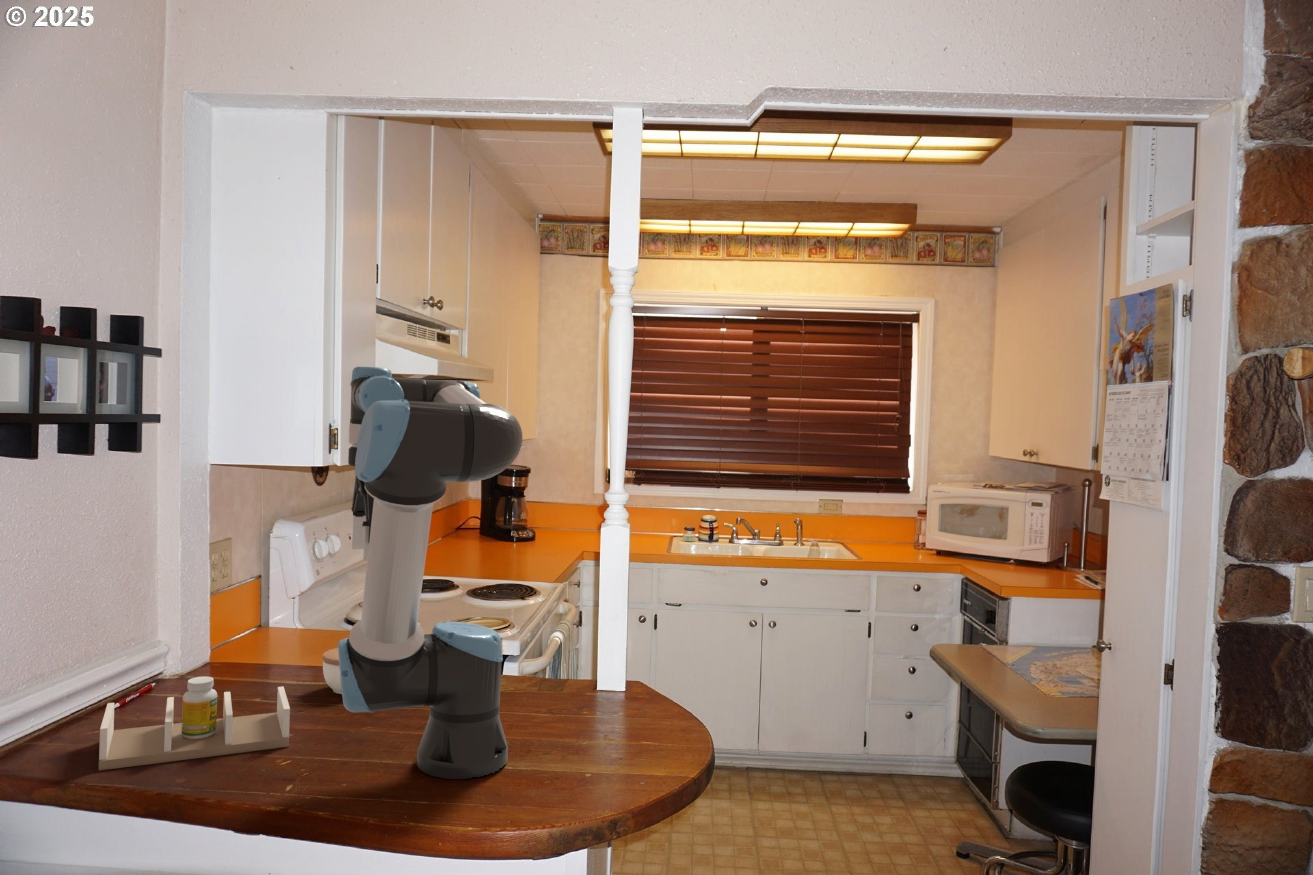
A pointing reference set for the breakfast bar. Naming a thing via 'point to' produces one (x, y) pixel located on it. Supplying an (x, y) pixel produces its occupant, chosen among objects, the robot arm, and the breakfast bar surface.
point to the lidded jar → (332, 670)
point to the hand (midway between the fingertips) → (364, 554)
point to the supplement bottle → (199, 709)
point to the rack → (172, 746)
